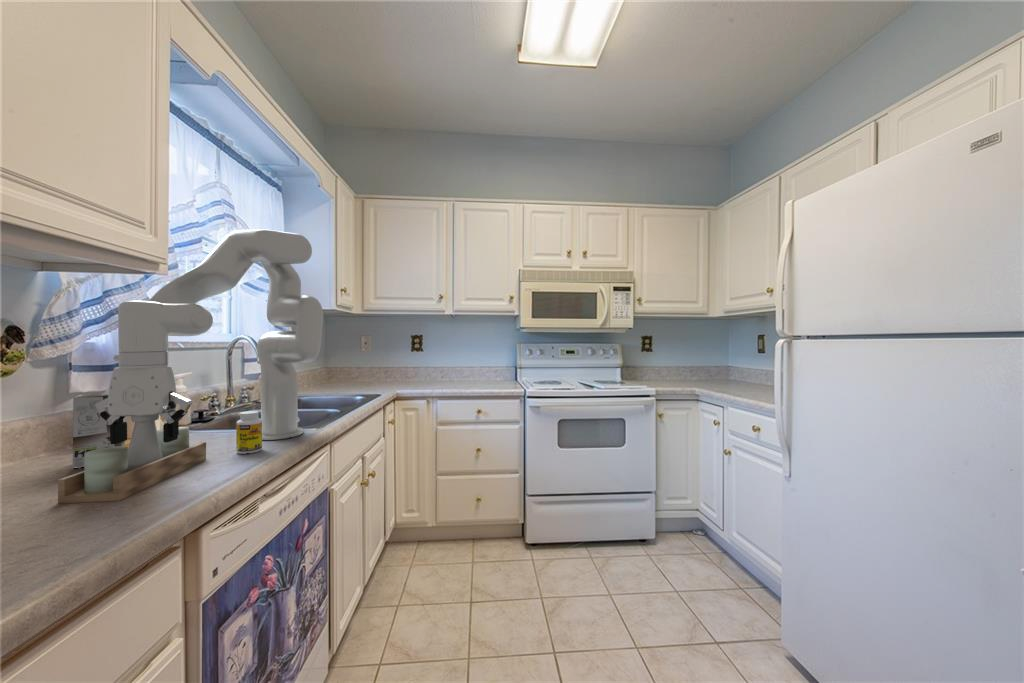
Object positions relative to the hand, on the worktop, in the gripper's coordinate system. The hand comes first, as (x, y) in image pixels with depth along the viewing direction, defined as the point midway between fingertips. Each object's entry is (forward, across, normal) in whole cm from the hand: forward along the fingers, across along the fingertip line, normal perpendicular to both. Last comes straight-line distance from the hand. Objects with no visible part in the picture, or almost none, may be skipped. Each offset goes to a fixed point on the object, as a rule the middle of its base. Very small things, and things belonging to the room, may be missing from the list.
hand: (145, 441), depth 81 cm
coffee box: (+8, -19, +13) cm, 24 cm away
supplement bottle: (+8, +11, +18) cm, 22 cm away
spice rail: (+7, 0, 0) cm, 8 cm away
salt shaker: (+6, 0, 0) cm, 7 cm away
